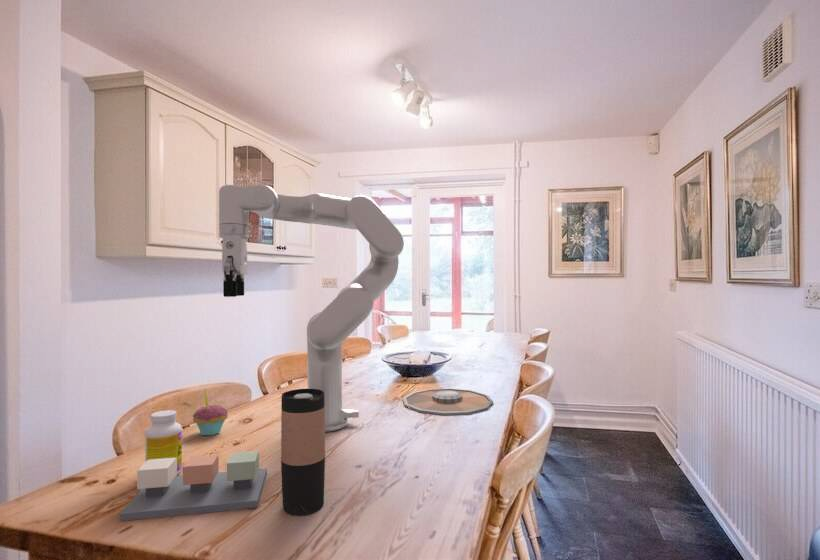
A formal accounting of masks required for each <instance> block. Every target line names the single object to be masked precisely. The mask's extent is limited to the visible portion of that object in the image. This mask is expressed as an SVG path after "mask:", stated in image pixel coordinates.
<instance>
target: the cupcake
mask: <svg viewBox="0 0 820 560" xmlns="http://www.w3.org/2000/svg"><path fill="white" fill-rule="evenodd" d="M204 399H205V400H204V401H205V406H202V407H201V408H198V409H197V410H196V411H195V412H194V413H193V414H192V420H193V421H192V422H193V423H194V424H196V425H197V427H198V430H199V432H200V435H201V436H203V435H211V436H216V435H218V434H220V433H221V431H222V428H223V424H224V422H225V421H226V420H227V419H228V416H229V415H228V409H226V408H224V407H223V406H221V405H216V404H214V405H213V404H212V405H210V404H209V397H208V392H207V390H206V389H204ZM219 432H220V433H219ZM217 433H218V434H217ZM215 434H216V435H215Z"/></svg>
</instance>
